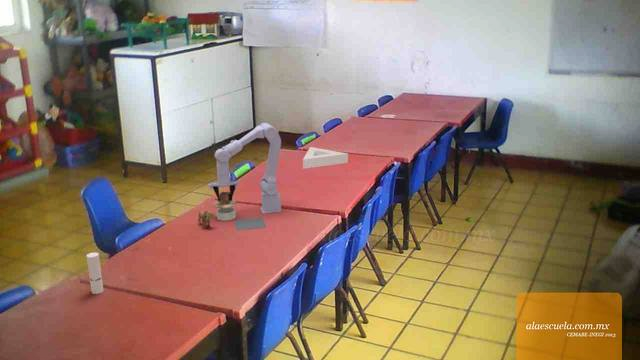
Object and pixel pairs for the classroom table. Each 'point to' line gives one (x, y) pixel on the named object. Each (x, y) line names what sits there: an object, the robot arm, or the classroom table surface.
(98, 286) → the tube
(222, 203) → the lid
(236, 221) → the mat
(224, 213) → the bowl
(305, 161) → the triangle block
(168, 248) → the classroom table surface
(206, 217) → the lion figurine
